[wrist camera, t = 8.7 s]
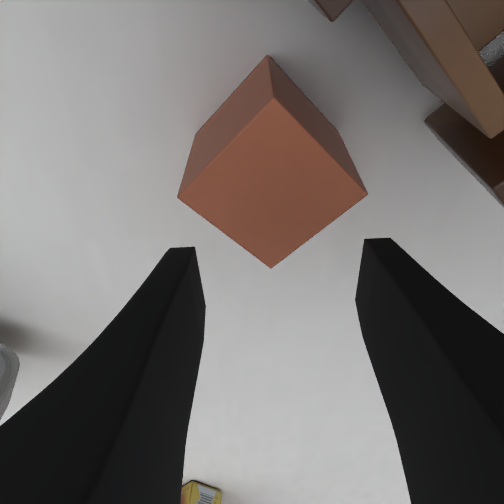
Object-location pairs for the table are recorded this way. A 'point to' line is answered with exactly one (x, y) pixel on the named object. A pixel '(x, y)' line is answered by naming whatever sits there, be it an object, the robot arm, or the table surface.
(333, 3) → the cabinet
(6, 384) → the network device
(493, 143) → the drawer
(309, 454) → the table surface
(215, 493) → the candy box
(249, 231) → the block
